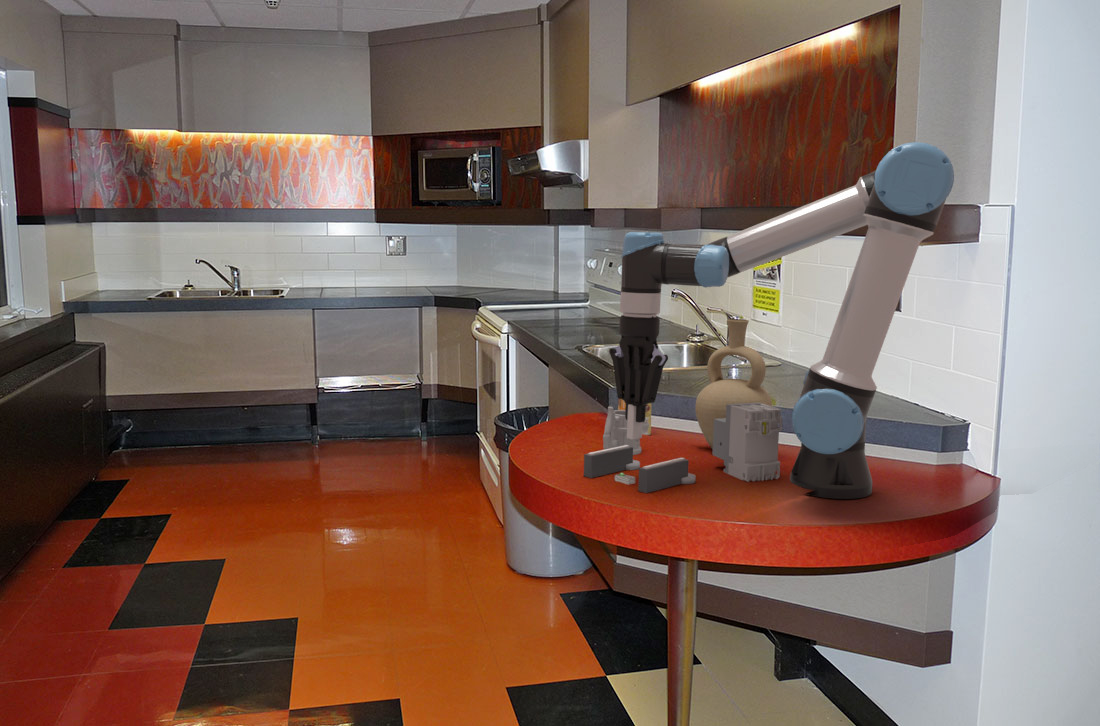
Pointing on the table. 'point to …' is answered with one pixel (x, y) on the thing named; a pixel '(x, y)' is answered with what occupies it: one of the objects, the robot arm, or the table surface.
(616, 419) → the mug
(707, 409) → the vase
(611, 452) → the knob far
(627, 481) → the base plate
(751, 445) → the circuit breaker
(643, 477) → the grey bar piece
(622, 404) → the candy box
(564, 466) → the table surface
